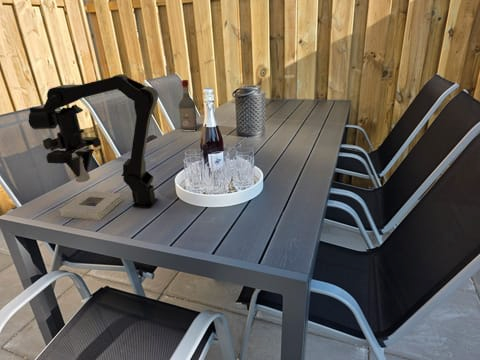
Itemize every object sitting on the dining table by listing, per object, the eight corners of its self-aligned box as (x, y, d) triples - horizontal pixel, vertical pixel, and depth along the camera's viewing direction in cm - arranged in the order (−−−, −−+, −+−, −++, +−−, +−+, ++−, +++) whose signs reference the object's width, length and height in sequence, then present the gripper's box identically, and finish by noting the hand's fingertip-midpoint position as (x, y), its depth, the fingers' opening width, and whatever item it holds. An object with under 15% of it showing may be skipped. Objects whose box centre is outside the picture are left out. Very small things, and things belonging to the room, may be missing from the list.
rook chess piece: (86, 176, 109) (81, 154, 106) (92, 179, 106) (87, 156, 103) (73, 180, 106) (67, 157, 103) (79, 183, 103) (73, 160, 100)
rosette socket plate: (123, 200, 113) (122, 193, 112) (100, 220, 100) (98, 213, 99) (88, 197, 116) (86, 191, 115) (61, 216, 103) (59, 209, 102)
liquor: (195, 131, 196) (191, 81, 183) (180, 132, 196) (175, 81, 184) (197, 128, 204) (193, 79, 192) (183, 128, 204) (178, 79, 192)
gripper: (68, 120, 109) (79, 163, 115) (23, 135, 92) (39, 184, 99) (96, 120, 107) (106, 164, 113) (56, 136, 90) (70, 186, 96)
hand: (81, 174), depth 105 cm, fingers closed on rook chess piece, 3 cm apart
